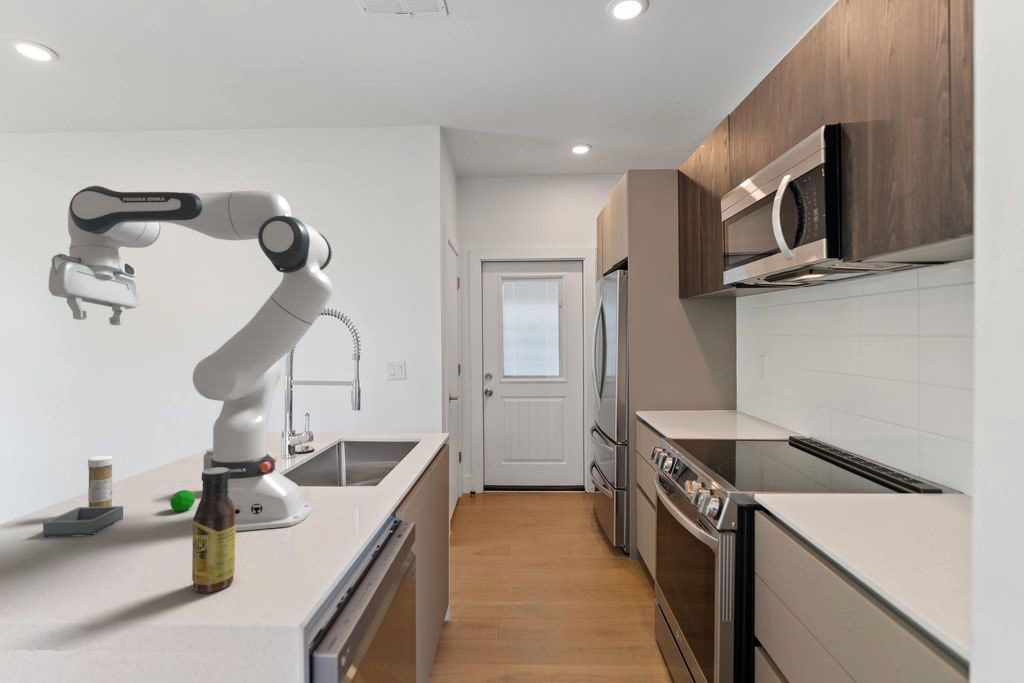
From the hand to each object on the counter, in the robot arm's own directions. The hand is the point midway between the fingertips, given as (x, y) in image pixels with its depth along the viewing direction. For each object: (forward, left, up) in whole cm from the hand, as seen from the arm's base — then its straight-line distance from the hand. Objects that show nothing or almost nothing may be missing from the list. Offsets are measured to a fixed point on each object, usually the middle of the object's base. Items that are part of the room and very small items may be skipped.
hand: (98, 322), depth 114 cm
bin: (-1, +5, -45) cm, 46 cm away
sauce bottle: (-42, +34, -46) cm, 70 cm away
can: (-18, -19, -46) cm, 53 cm away
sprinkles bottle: (+2, -4, -46) cm, 46 cm away
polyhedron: (-16, -5, -46) cm, 49 cm away
